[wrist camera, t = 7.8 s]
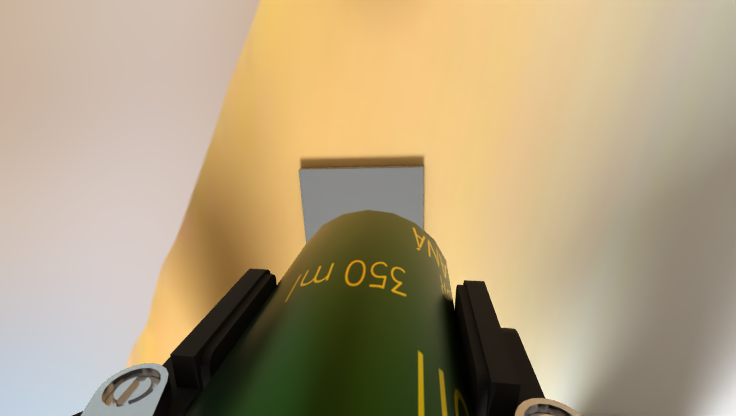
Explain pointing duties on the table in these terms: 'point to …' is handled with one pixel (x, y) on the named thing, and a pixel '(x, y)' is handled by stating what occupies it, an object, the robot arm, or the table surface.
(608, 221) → the table surface
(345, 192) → the slate coaster
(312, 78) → the table surface
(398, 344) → the beer can
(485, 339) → the robot arm
